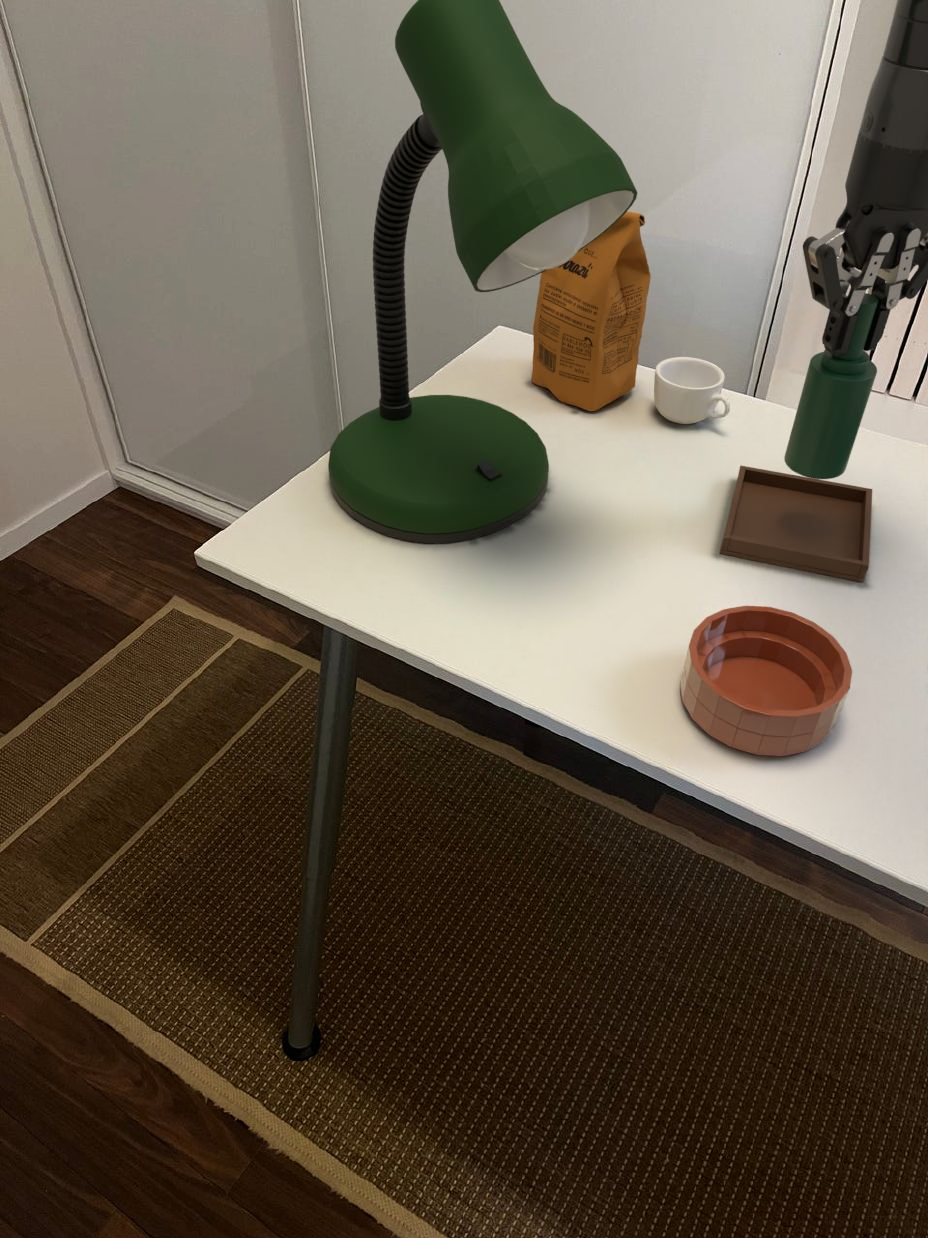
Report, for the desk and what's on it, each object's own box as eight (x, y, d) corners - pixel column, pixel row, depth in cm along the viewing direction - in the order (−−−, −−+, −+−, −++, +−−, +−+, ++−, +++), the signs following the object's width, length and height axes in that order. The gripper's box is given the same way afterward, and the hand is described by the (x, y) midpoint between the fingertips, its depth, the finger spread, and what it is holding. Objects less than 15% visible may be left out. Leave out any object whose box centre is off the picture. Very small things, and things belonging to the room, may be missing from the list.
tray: (866, 505, 97) (872, 488, 95) (862, 582, 87) (869, 565, 86) (736, 481, 100) (740, 465, 99) (719, 553, 91) (723, 536, 89)
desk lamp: (648, 521, 95) (736, -12, 64) (478, 617, 84) (488, 31, 54) (452, 403, 112) (450, -60, 82) (291, 470, 101) (220, -34, 71)
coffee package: (576, 356, 121) (592, 176, 106) (646, 394, 114) (673, 206, 99) (517, 379, 117) (525, 194, 102) (586, 420, 109) (605, 226, 94)
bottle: (855, 461, 89) (909, 296, 78) (830, 486, 86) (883, 318, 75) (800, 440, 91) (845, 278, 81) (773, 464, 88) (817, 299, 78)
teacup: (635, 411, 111) (641, 369, 107) (679, 391, 114) (686, 350, 111) (701, 447, 105) (709, 404, 101) (744, 425, 108) (754, 382, 105)
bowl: (859, 695, 77) (877, 651, 73) (792, 786, 70) (809, 742, 67) (725, 629, 83) (736, 586, 79) (651, 708, 76) (660, 663, 72)
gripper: (867, 153, 65) (806, 382, 76) (1026, 134, 68) (944, 355, 80) (803, 125, 70) (754, 343, 82) (954, 108, 74) (887, 319, 85)
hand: (849, 348), depth 81 cm, fingers closed on bottle, 2 cm apart
